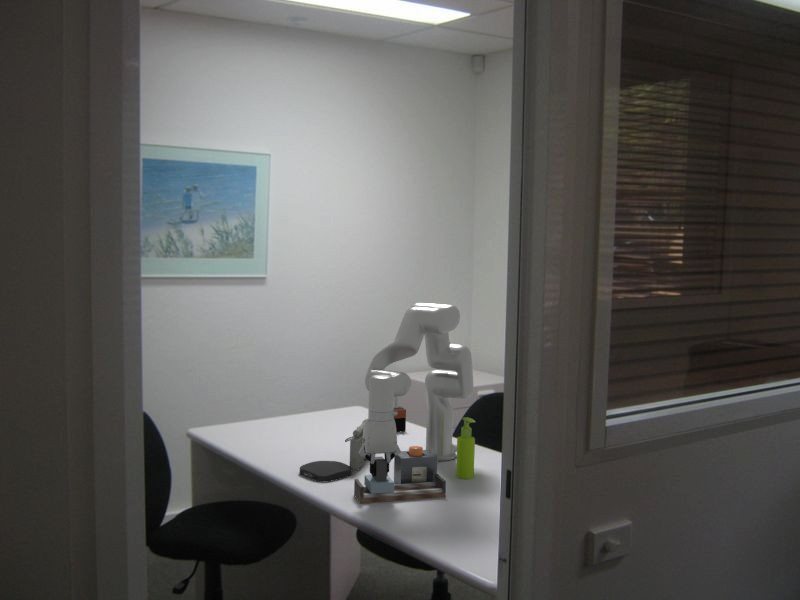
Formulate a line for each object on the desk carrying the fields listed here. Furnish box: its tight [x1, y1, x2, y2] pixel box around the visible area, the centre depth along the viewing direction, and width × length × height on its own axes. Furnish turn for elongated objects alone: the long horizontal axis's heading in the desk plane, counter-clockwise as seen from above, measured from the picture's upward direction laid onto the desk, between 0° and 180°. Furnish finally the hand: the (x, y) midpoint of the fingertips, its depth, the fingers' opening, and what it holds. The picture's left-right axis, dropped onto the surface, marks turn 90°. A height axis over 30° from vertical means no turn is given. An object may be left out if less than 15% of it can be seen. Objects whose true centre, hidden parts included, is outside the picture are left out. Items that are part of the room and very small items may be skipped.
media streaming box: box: [299, 460, 353, 483], centre depth 269 cm, size 15×15×3 cm
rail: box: [353, 473, 447, 504], centre depth 248 cm, size 27×8×5 cm, turn 106°
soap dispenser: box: [455, 416, 476, 480], centre depth 268 cm, size 6×7×20 cm
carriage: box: [363, 456, 395, 494], centre depth 246 cm, size 7×9×9 cm
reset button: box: [408, 445, 424, 457], centre depth 259 cm, size 4×4×4 cm
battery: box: [393, 405, 407, 433], centre depth 328 cm, size 4×7×10 cm, turn 116°
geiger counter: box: [344, 417, 369, 472], centre depth 284 cm, size 14×6×25 cm
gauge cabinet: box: [393, 449, 438, 485], centre depth 259 cm, size 12×8×10 cm
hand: (379, 474), depth 246 cm, fingers closed on carriage, 3 cm apart
